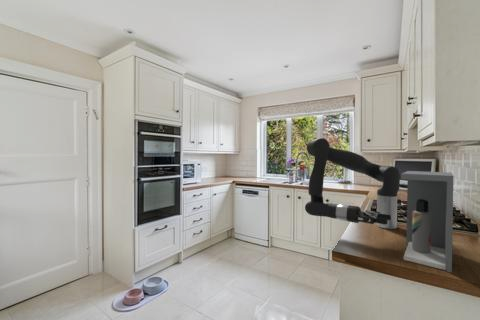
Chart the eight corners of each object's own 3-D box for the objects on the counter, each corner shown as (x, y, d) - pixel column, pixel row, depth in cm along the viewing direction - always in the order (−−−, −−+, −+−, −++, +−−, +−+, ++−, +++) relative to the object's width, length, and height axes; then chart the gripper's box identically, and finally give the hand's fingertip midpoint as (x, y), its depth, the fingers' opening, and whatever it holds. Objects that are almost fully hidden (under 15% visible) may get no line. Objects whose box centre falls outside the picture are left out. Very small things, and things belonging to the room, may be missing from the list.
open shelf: (406, 242, 101) (408, 171, 100) (449, 251, 92) (451, 172, 91) (400, 259, 84) (401, 173, 84) (451, 272, 75) (453, 175, 74)
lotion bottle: (430, 250, 89) (431, 199, 89) (431, 255, 85) (432, 201, 84) (412, 246, 93) (412, 197, 92) (412, 251, 88) (412, 199, 88)
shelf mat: (409, 245, 98) (409, 241, 98) (444, 252, 91) (444, 248, 91) (403, 259, 84) (403, 255, 84) (445, 270, 76) (445, 265, 76)
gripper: (343, 207, 101) (386, 214, 90) (352, 202, 112) (392, 208, 101) (343, 224, 101) (386, 232, 90) (352, 218, 112) (391, 224, 101)
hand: (389, 219), depth 96 cm, fingers open, 8 cm apart
